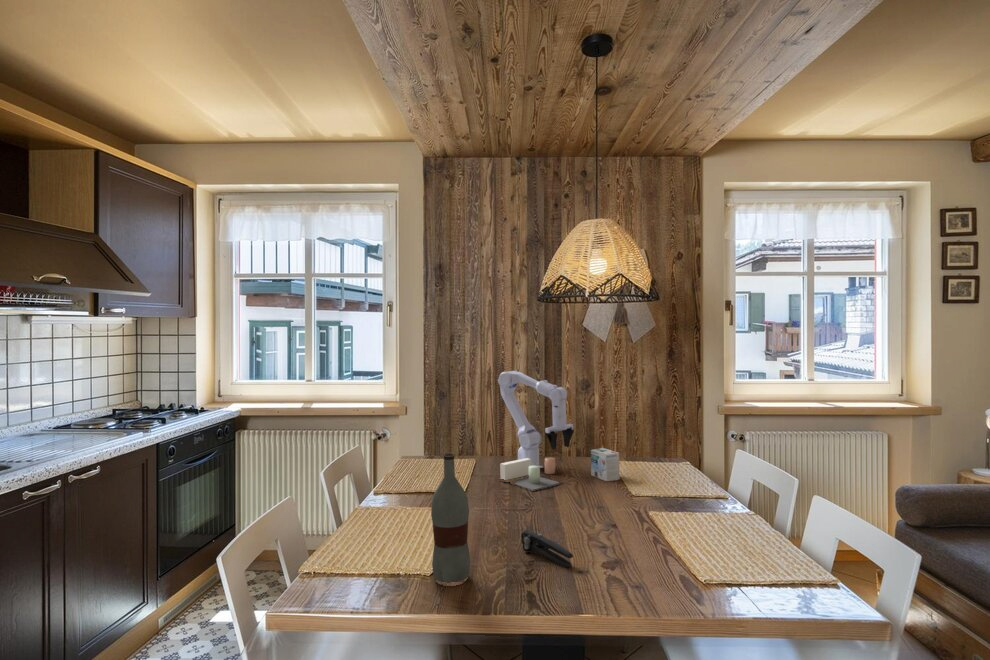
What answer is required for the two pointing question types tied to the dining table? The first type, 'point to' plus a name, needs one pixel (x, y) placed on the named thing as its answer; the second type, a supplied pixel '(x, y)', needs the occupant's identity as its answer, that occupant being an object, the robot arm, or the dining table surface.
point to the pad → (543, 484)
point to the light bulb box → (605, 464)
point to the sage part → (534, 474)
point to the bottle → (450, 527)
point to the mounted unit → (515, 469)
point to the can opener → (544, 547)
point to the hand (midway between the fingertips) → (560, 447)
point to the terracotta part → (549, 465)
